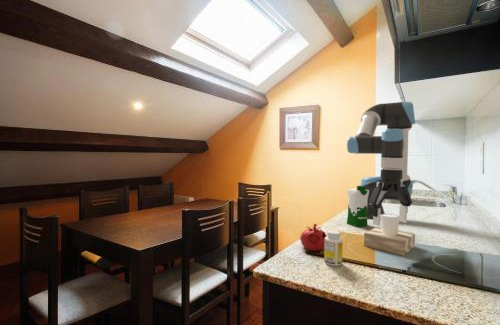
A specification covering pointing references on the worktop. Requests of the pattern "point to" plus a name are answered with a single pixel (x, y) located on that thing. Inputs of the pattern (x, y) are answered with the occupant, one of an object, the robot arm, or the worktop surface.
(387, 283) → the worktop surface
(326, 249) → the supplement bottle
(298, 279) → the worktop surface
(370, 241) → the wooden base
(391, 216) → the white cup
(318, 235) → the pomegranate
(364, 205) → the milk carton
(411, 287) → the worktop surface
